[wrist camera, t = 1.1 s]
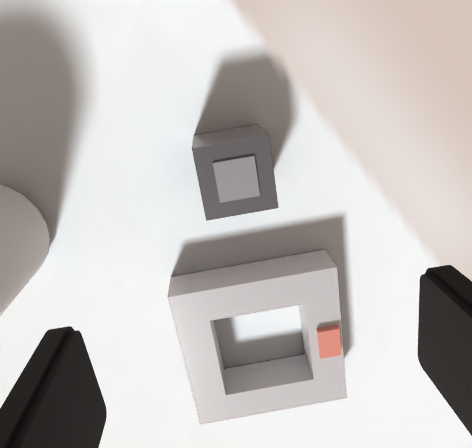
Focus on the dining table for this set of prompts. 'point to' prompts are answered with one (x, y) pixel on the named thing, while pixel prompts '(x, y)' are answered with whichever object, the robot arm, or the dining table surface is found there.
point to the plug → (235, 171)
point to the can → (19, 243)
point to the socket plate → (251, 301)
